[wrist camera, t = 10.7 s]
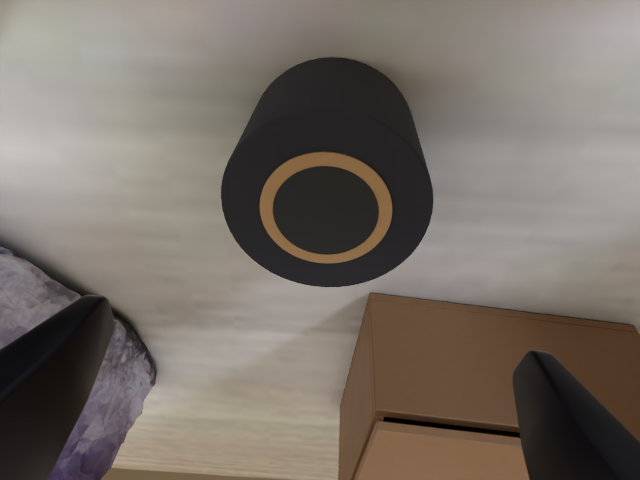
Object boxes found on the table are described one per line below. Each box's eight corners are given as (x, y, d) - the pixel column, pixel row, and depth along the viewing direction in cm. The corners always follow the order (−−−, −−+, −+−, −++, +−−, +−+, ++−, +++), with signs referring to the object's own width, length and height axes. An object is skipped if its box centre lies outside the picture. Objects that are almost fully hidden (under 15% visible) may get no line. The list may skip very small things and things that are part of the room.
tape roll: (433, 69, 15) (464, 127, 11) (393, 217, 19) (405, 300, 15) (252, 45, 14) (214, 94, 10) (251, 199, 18) (223, 277, 14)
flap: (354, 477, 19) (354, 486, 19) (376, 420, 16) (376, 430, 16) (643, 510, 20) (648, 520, 19) (725, 461, 16) (732, 472, 16)
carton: (340, 405, 28) (336, 529, 23) (369, 292, 21) (375, 429, 16) (541, 429, 29) (589, 558, 23) (633, 324, 22) (734, 471, 16)
